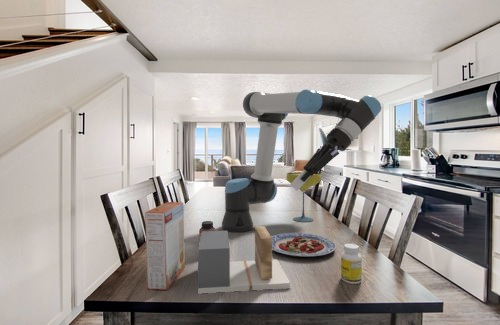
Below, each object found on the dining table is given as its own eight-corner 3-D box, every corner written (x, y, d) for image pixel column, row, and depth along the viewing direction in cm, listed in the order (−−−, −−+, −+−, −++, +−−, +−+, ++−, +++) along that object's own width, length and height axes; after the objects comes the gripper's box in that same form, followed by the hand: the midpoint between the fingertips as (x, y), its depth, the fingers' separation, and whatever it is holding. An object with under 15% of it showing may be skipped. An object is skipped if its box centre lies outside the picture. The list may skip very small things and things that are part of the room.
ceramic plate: (293, 234, 121) (293, 227, 121) (348, 248, 103) (348, 240, 102) (252, 248, 103) (252, 240, 103) (310, 269, 85) (310, 259, 84)
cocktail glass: (320, 216, 153) (320, 172, 152) (321, 224, 135) (321, 175, 135) (287, 215, 157) (288, 172, 156) (284, 222, 139) (284, 174, 139)
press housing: (277, 263, 88) (277, 228, 87) (290, 288, 72) (290, 245, 71) (201, 267, 85) (201, 231, 84) (198, 294, 69) (198, 249, 69)
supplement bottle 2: (337, 276, 79) (338, 242, 79) (355, 275, 80) (356, 242, 79) (346, 285, 74) (346, 249, 73) (365, 284, 74) (365, 248, 74)
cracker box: (166, 267, 85) (166, 201, 84) (185, 268, 84) (184, 201, 84) (145, 290, 71) (144, 211, 70) (167, 291, 70) (166, 211, 70)
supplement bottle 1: (218, 251, 99) (218, 220, 99) (211, 257, 93) (211, 224, 93) (204, 249, 101) (204, 219, 101) (196, 255, 95) (195, 223, 95)
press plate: (264, 260, 85) (264, 226, 85) (272, 278, 73) (272, 238, 73) (254, 261, 85) (254, 226, 84) (261, 279, 73) (261, 238, 72)
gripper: (361, 142, 82) (308, 198, 81) (341, 144, 95) (295, 192, 94) (344, 124, 82) (291, 181, 80) (326, 129, 95) (280, 177, 93)
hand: (293, 187), depth 87 cm, fingers closed
